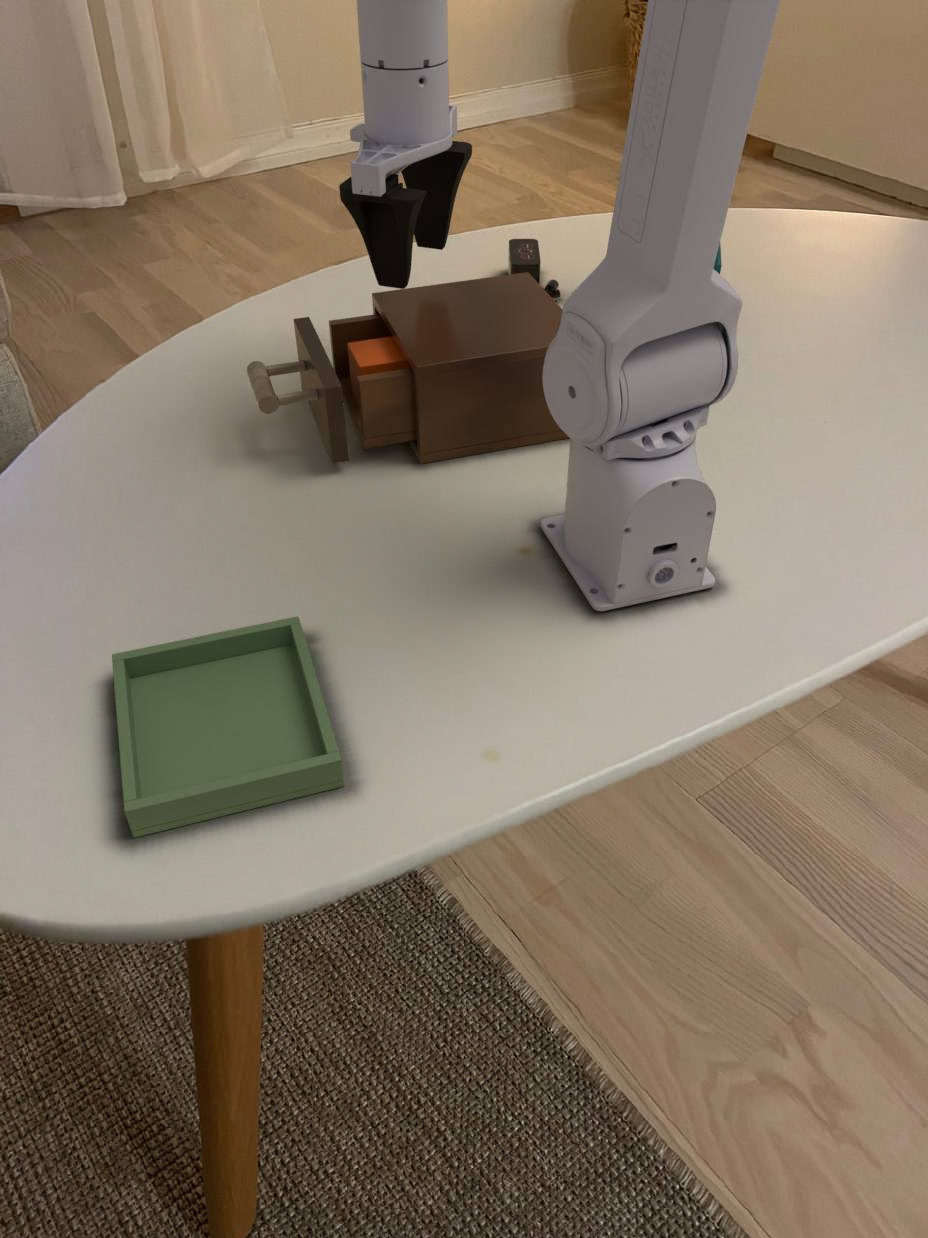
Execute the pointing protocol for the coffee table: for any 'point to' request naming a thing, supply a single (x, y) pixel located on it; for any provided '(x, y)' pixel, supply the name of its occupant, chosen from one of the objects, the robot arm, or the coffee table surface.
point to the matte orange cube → (374, 359)
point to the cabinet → (475, 362)
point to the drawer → (343, 387)
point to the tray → (221, 726)
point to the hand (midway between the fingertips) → (412, 265)
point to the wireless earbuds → (528, 262)
